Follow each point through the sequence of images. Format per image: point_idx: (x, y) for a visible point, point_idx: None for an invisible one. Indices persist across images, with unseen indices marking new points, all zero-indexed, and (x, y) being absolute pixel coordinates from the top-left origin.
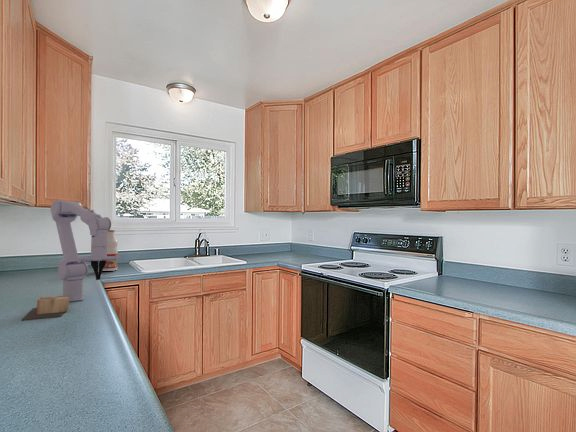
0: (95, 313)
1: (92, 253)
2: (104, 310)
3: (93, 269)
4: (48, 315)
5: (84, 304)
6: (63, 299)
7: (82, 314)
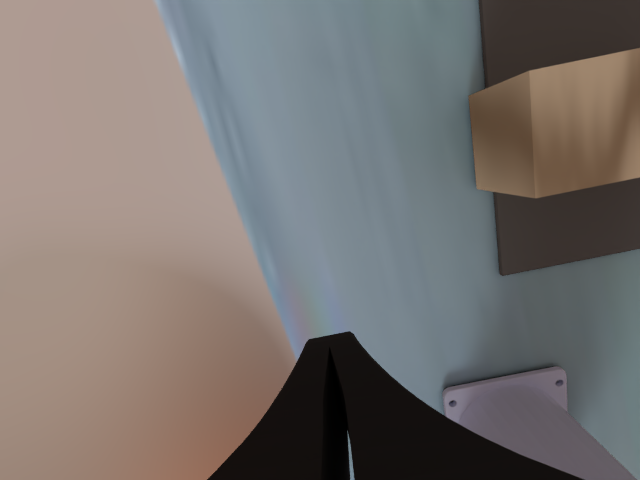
0: (268, 13)
1: None
2: (229, 90)
3: (446, 417)
4: (560, 7)
5: (405, 290)
6: (552, 66)
7: (350, 6)
